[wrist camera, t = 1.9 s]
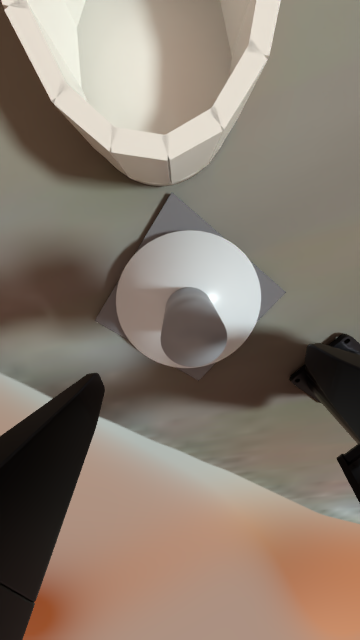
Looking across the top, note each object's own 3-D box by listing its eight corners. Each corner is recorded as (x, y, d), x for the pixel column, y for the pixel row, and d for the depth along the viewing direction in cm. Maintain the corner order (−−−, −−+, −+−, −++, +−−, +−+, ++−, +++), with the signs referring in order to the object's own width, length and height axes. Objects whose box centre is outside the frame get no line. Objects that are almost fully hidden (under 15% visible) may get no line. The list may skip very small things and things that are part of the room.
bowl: (275, 60, 10) (351, -75, 5) (175, 218, 12) (175, 207, 8) (124, -143, 7) (56, -646, 3) (44, 108, 10) (-46, 18, 6)
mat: (283, 290, 15) (286, 292, 14) (198, 377, 18) (198, 380, 18) (172, 193, 12) (171, 192, 11) (96, 318, 15) (94, 320, 15)
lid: (286, 292, 14) (342, 319, 9) (198, 380, 18) (206, 433, 13) (172, 192, 11) (169, 158, 7) (94, 320, 15) (55, 359, 10)
